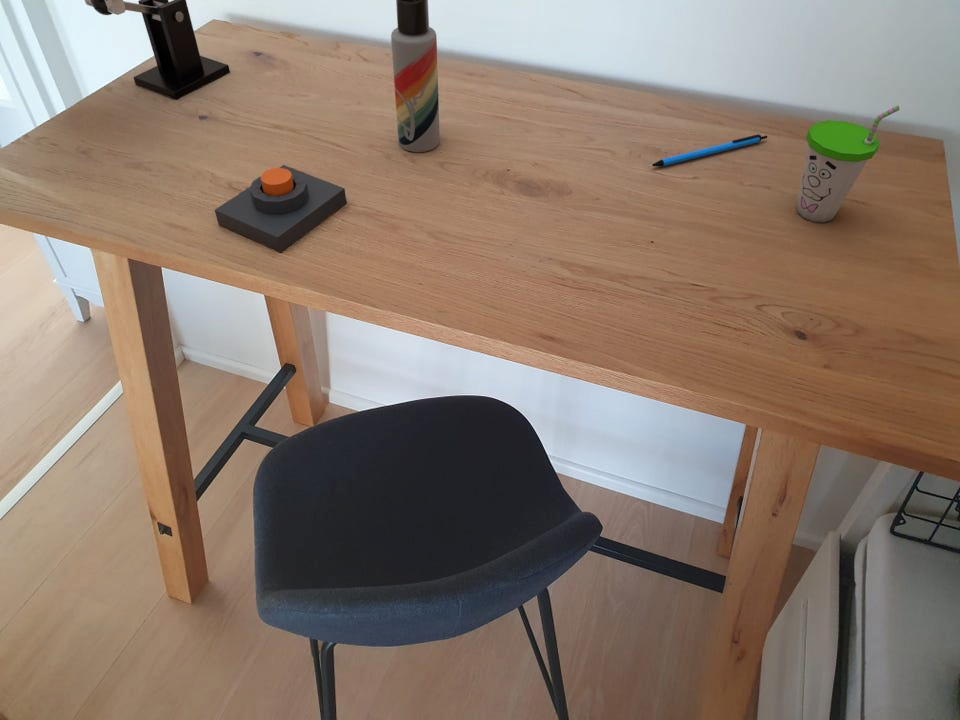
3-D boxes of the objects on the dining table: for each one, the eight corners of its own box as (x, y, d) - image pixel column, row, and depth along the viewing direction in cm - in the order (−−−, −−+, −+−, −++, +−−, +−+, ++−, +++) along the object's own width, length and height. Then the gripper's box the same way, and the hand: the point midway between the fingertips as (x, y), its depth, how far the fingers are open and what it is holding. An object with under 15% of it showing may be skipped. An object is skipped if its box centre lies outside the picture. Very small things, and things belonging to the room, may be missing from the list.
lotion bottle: (393, 150, 105) (381, -2, 90) (405, 129, 108) (396, -19, 94) (433, 155, 104) (427, 3, 89) (444, 135, 108) (440, -15, 93)
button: (279, 200, 89) (276, 187, 88) (256, 191, 91) (253, 178, 90) (300, 186, 92) (298, 173, 90) (277, 177, 93) (275, 164, 92)
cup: (769, 207, 96) (806, 93, 85) (809, 188, 99) (850, 76, 88) (821, 238, 91) (867, 122, 81) (861, 217, 94) (911, 102, 84)
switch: (101, 15, 102) (102, -10, 101) (85, 10, 103) (86, -15, 102) (179, 27, 113) (181, 4, 112) (164, 22, 114) (166, -1, 113)
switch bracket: (176, 99, 114) (153, 19, 106) (135, 84, 117) (109, 5, 109) (230, 72, 121) (212, -6, 112) (189, 58, 124) (169, -19, 116)
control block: (280, 252, 88) (274, 224, 85) (218, 225, 92) (210, 196, 89) (346, 203, 95) (343, 175, 93) (286, 179, 99) (281, 151, 96)
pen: (767, 141, 107) (769, 133, 106) (652, 170, 101) (653, 162, 101) (763, 138, 108) (765, 130, 107) (648, 166, 102) (649, 159, 101)
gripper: (-7, -114, 96) (37, 0, 106) (102, -87, 89) (138, 33, 99) (37, -125, 100) (76, -14, 110) (145, -100, 92) (176, 17, 102)
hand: (106, 9), depth 104 cm, fingers closed on switch, 3 cm apart
